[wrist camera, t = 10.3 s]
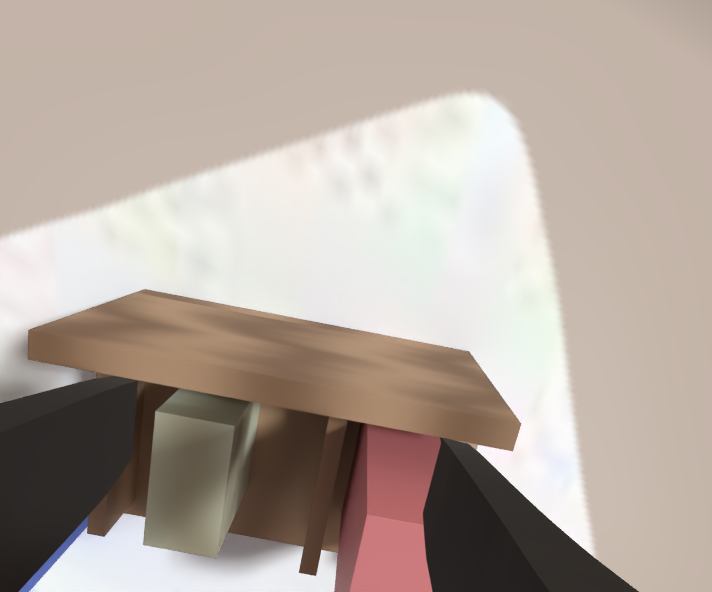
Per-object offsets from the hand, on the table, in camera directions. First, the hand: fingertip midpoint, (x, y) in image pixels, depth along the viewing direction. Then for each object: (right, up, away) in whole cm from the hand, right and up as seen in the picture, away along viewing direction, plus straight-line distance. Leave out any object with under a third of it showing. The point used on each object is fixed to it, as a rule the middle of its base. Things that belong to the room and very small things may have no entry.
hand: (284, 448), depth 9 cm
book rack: (-2, -3, +11) cm, 12 cm away
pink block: (+3, -5, +11) cm, 12 cm away
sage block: (-5, -3, +11) cm, 12 cm away
